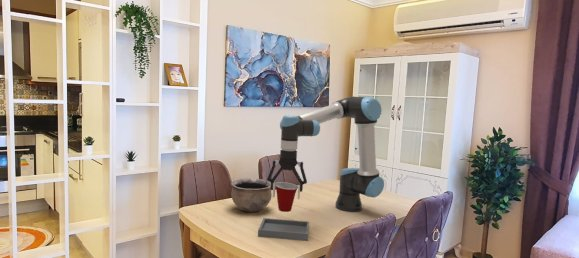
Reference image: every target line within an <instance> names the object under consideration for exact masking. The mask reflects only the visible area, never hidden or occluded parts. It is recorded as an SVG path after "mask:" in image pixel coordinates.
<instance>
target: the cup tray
mask: <svg viewBox="0 0 579 258" xmlns="http://www.w3.org/2000/svg"><path fill="white" fill-rule="evenodd" d="M309 226H310V221H305V220H295V219H282V218H281V219H280V218H267V217H263V219H262V220H261V223H260V224H259V227H258V230H257V237H259V238H260V237H261V238H270V239H271V238H272V239H285V240H295V241H296V240H297V241H307V242H308V240H309V229H310V227H309Z"/></svg>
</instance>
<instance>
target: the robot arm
mask: <svg viewBox="0 0 579 258" xmlns="http://www.w3.org/2000/svg"><path fill="white" fill-rule="evenodd" d="M381 115H382V105H381V103H380V101H379V100H378V99H377V98H375V97H370V96H348V97H345V98H342V99H339V100H336V101H332V103H331V104H330V105H326V106H324V107H320V108H317V109H315V110H311V111H307V112H305V113H302V114H299V115H290V114H289V115H286V114H285V115H283V116H282V119H281V120H280V122H279V128H280V130H281V132H280V133H281V135H280V153H279V160H276V159H273V161H272V167H271V169H270V172H269V174H268V176H267V179H266V181H269V182H271V191H272V198H275V197H276V186H275V183H277V182H276V179H277V177H279V175H280V174H281V172H282V171H292V173H293V174H294V176H295V178H296V180H297V181H298V185H297V186H298V189H297V200H300V195H301V194H300V193H302V192H303V189H304V188H303V187H304V185H306V184H307V183H308V181H307V177H306V173H305V168H304V161H298V160H297V159H298V151H297V150H298V141H299V137H316V136H318V135H319V134H320V131H321V125H320V124H323V123H326V122H329V121H331V120H335V119H337V120H340V119H344V118H351V119H354V124H355V125H356V126H357V138H358V153H359V154H358V156H359V157H358V158H359V167H357V168H356V167H349V168H348V167H347V168H342V169H341V171H340V174H339V175H340V176H339V192H338V196H337V198H336V201H335V205H334V206H335V208H336V209H338V210H340V211H345V212H359V211H362V209H363V208H362V207H363V204H362V201H361V196H360V195H363V196H365V197H367V198H377V197H379V196H380V195H381V194H382V192H383V190H384V188H385V180H384V179H383V178H382V177H381V176H380V171H379V170H378V169H377V160H376V158H377V157H376V139H375V137H376V136H375V133H376V131H375V125H376V124H377V123H378V120H379V119H380V117H381ZM278 164H279V165H280V168H279V169H278V170H277V172H276V173H275V174H274V176H273V173H274V171H275V168H276V167H277V165H278ZM297 165H298V167H299V169H300V172H301V176H302V178H301V176H300V173H298V170H297V168H296V166H297ZM272 176H273V177H272Z"/></svg>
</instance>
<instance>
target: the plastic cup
mask: <svg viewBox="0 0 579 258" xmlns="http://www.w3.org/2000/svg"><path fill="white" fill-rule="evenodd" d="M275 192H276V198H277V200H276V201H277V208H278V211H280V212H283V213H287V212H292V209H293V204H294V202H295V201H294V200H295V197H296V193H297V192H298V185H297V184H295V183H291V182H287V181H278V182H276V183H275Z"/></svg>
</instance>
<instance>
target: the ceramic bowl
mask: <svg viewBox="0 0 579 258" xmlns="http://www.w3.org/2000/svg"><path fill="white" fill-rule="evenodd" d="M230 185H231V193H230V195H231V199H232V202H233V204H234V205H236V207H237V208H238V209H240V210H241V211H244V212H252V213H253V212H260V211H261V210H264V208H266V207H267V206H268V205H269V203H270V202H271V201H272V198H273V192H272V189H271V182H270V181H267V180H265V179H263V178H262V179H260V178H257V179H256V180H255V181H254V180H252V179H251V178H240V179H237V180H233V181H232V182H231V183H230Z"/></svg>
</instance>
